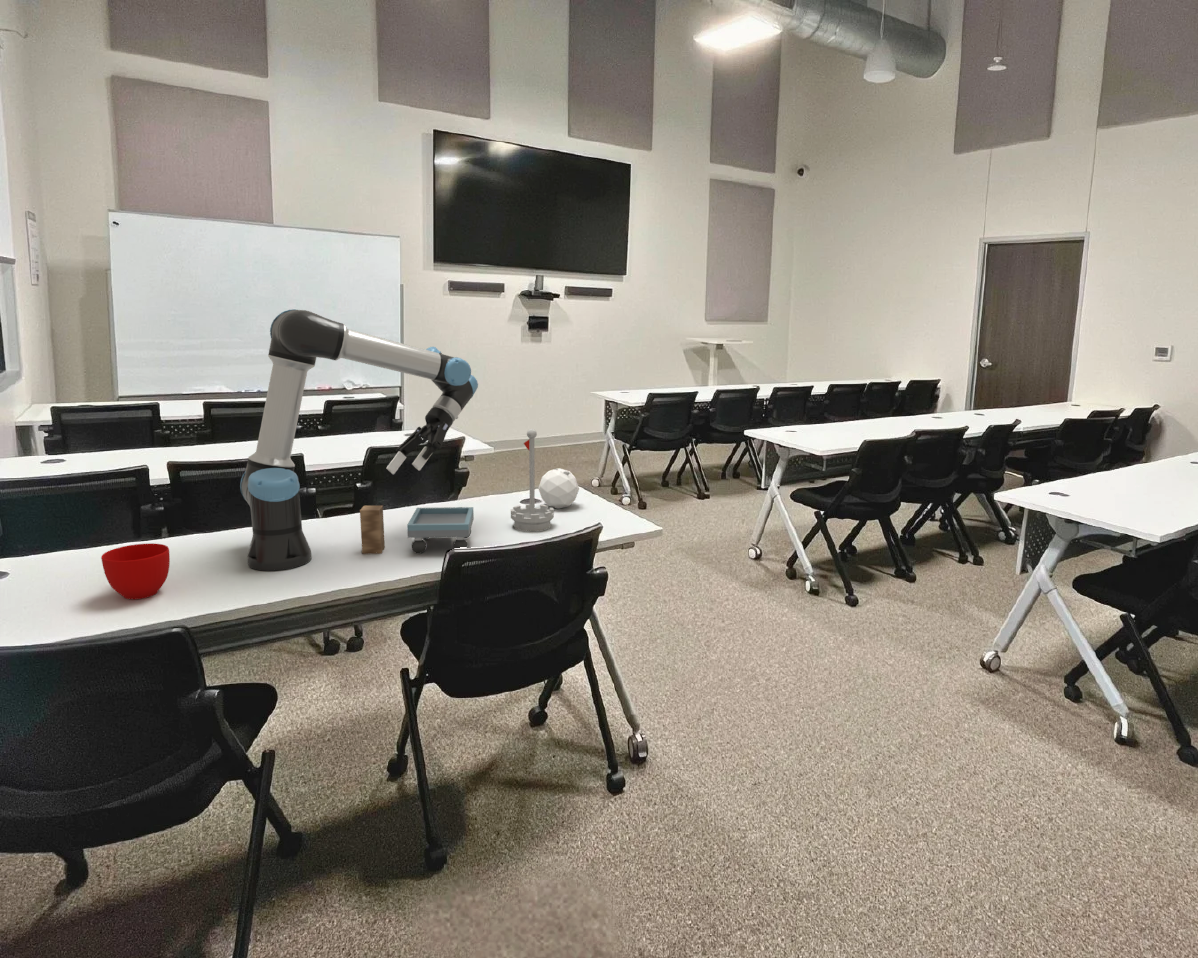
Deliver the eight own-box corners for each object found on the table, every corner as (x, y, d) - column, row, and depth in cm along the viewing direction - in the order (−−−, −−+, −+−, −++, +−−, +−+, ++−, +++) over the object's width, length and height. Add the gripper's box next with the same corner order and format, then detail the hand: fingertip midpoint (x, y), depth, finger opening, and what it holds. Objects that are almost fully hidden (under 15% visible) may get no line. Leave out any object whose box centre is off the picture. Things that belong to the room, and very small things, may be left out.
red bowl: (160, 575, 181) (156, 536, 179) (180, 595, 169) (175, 553, 167) (97, 588, 172) (92, 546, 170) (113, 609, 160) (108, 565, 158)
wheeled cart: (408, 555, 198) (407, 525, 196) (418, 536, 216) (416, 507, 214) (469, 554, 200) (468, 524, 198) (474, 535, 217) (473, 507, 215)
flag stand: (561, 528, 226) (562, 430, 219) (523, 534, 219) (523, 433, 212) (540, 518, 236) (539, 424, 230) (503, 524, 229) (502, 427, 223)
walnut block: (362, 553, 199) (359, 510, 197) (366, 548, 204) (363, 505, 202) (381, 553, 200) (379, 510, 197) (384, 547, 205) (382, 505, 202)
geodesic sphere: (595, 490, 250) (575, 455, 252) (574, 498, 239) (552, 462, 240) (567, 510, 258) (547, 477, 259) (544, 519, 246) (523, 484, 248)
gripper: (476, 418, 211) (436, 474, 201) (427, 429, 229) (388, 481, 218) (459, 399, 208) (417, 456, 197) (410, 411, 225) (370, 464, 214)
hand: (402, 469), depth 207 cm, fingers open, 13 cm apart
